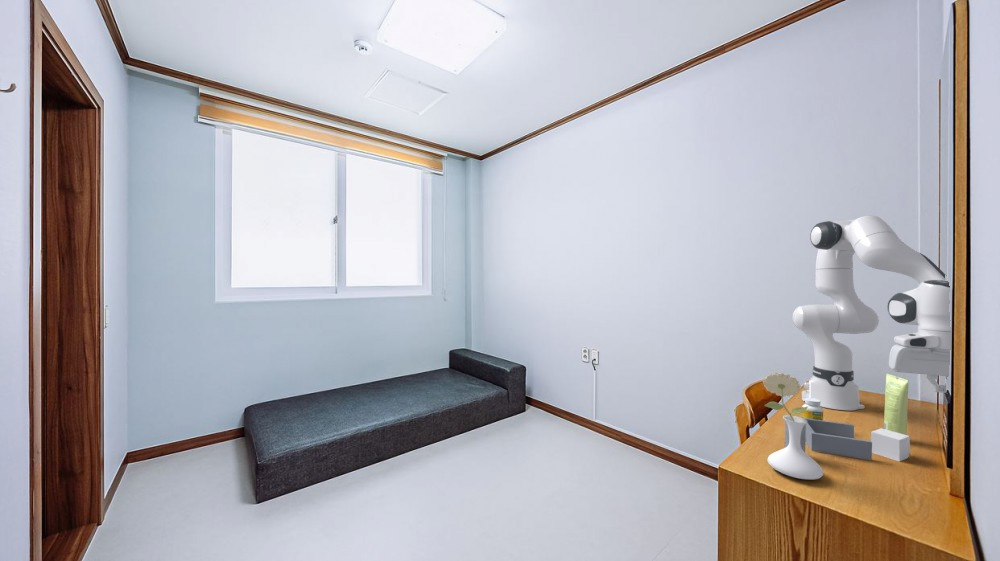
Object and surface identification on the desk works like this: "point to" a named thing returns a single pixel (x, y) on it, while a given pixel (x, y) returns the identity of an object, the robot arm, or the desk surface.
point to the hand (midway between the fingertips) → (941, 392)
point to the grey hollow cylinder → (802, 438)
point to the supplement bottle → (813, 409)
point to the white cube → (890, 444)
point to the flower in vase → (791, 432)
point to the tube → (896, 404)
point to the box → (836, 439)
